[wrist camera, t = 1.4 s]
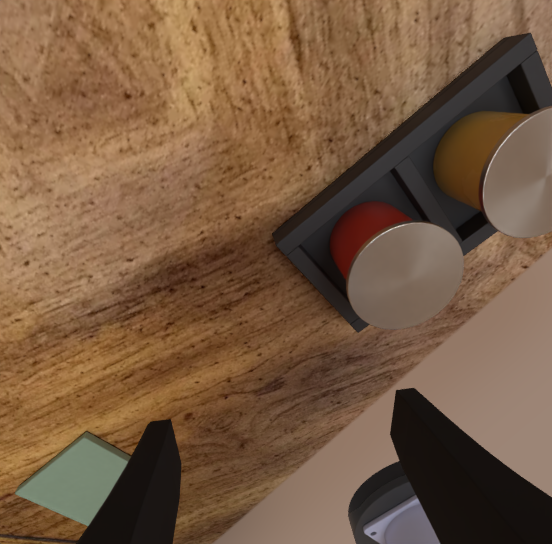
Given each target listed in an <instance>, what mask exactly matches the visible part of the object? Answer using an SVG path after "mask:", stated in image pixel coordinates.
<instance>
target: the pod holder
mask: <svg viewBox="0 0 552 544" xmlns="http://www.w3.org/2000/svg"><path fill="white" fill-rule="evenodd" d="M549 106H552V87H551V84H550V81H549V79H548V76H547V74H546V71H545V69H544V66H543V63H542V61H541V58H540V56H539V53H538V51H537V48H536V45H535V42H534V40H533V37H532V35H531V33H527V34H521V35H516V36H511V37H505V38H503V39H502V40H501V41H500V42H499V43H498V44H496V45H495V46H494V47H493V48H492V49H490V50H489V51H488V52H487V53H486V54H485V55H483V56H482V57H481V58H480V59H479V60H477V61H476V62H475V63H474V64H473V65H471V66H470V67H469V68H468V69H467V70H466V71H464V72H463V73H462V74H461V75H460V76H458V77H457V78H456V79H455V80H454V81H453V82H451V83H450V84H449V85H448V86H447V87H445V88H444V89H443V90H442V91H441V92H439V93H438V94H437V95H436V96H435V97H434V98H432V99H431V100H430V101H429V102H428V103H426V104H425V105H424V106H423V107H422V108H421V109H419V110H418V111H417V112H416V113H415V114H413V115H412V116H411V117H410V118H409V119H407V120H406V121H405V122H404V123H403V124H402V125H400V126H399V127H398V128H397V129H396V130H394V131H393V132H392V133H391V134H390V135H388V136H387V137H386V138H385V139H384V140H383V141H381V142H380V143H379V144H378V145H377V146H375V147H374V148H373V149H372V150H371V151H370V152H368V153H367V154H366V155H365V156H364V157H362V158H361V159H360V160H359V161H358V162H356V163H355V164H354V165H353V166H352V167H351V168H349V169H348V170H347V171H346V172H345V173H343V174H342V175H341V176H340V177H339V178H338V179H336V180H335V181H334V182H333V183H332V184H330V185H329V186H328V187H327V188H326V189H324V190H323V191H322V192H321V193H320V194H319V195H317V196H316V197H315V198H314V199H313V200H311V201H310V202H309V203H308V204H307V205H306V206H304V207H303V208H302V209H301V210H300V211H298V212H297V213H296V214H295V215H294V216H292V217H291V218H290V219H289V220H288V221H287V222H285V223H284V224H283V225H282V226H281V227H279V228H278V229H277V230H276V231H275V232H274V233H272V235H273V238H274V241H275V244H276V246H277V247H278V248H279V249H280V250H281V251H282V253H283V254H284V255H285V256H287V258H288V259H289V260H290V261H291V262H292V263H293V264H294V265H295V266H296V267H297V268H298V269H299V270H300V272H301V273H302V274H303V275H304V276H305V277H306V278H307V279H308V280H309V281H310V282H311V283H312V284H313V285H314V286H315V288H316V289H317V290H318V291H319V292H320V293H321V294H322V295H323V296H324V297H325V298H326V299H327V300H328V301H329V303H330V304H331V305H332V306H333V307H334V308H335V309H336V310H337V311H338V312H339V313H340V314H341V315H342V316H343V317H344V319H345V320H346V321H347V322H348V323H350V325H351V326H352V327H353V328H354V329H355V330H356V331H357V332H360V331H361V330H363V329H364V328H365V327H367V326H368V325H370V324H368V323H367V322H365V321H364V320H362V319H361V318H360V317H359V316H358V315H357V314H356V312H355V311H354V309H353V308H352V306H351V304H350V302H349V299H348V296H347V291H346V279H345V278H344V276H343V275H342V273H341V271H340V270H339V268H338V267H337V265H336V264H335V262H334V260H333V258H332V256H331V252H330V237H331V233H332V231H333V228H334V226H335V224H336V223H337V221H338V220H339V219H340V217H341V216H342V215H343V214H344V213H345V212H347V211H348V210H349V209H351V208H353V207H354V206H356V205H359V204H361V203H365V202H370V201H379V202H384V203H388V204H390V205H392V206H393V207H395V208H396V209H398V210H399V211H401V212H402V213H404V214H405V215H407V216H408V217H409V218H411V219H412V220H420V221H427V222H431V223H434V224H436V225H439V226H441V227H442V228H444V229H445V230H447V231H448V232H450V233H451V234H452V235H453V236H454V237H455V239H456V240H457V241H458V243H459V245H460V247H461V250H462V253H463V256H464V255H466V254H467V253H468V252H470V251H471V250H472V249H474V248H475V247H477V246H478V245H479V244H481V243H482V242H483V241H485V240H486V239H488V238H489V237H490V236H492V235H493V234H494V233H496V232H497V230H496V229H495V228H493V227H492V226H491V225H490V224H489V223H488V222H487V220H486V219H485V217H484V215H483V213H482V212H481V211H479V210H477V209H475V208H473V207H471V206H469V205H467V204H465V203H462V202H460V201H458V200H456V199H454V198H452V197H450V196H448V195H446V194H445V193H444V192H443V191H442V190H441V189H440V188H439V186H438V185H437V183H436V180H435V177H434V172H433V161H434V156H435V152H436V149H437V147H438V144H439V142H440V141H441V139H442V137H443V136H444V134H445V133H446V132H447V131H448V129H449V128H450V127H451V126H452V125H453V124H455V123H456V122H457V121H458V120H460V119H461V118H463V117H465V116H467V115H469V114H471V113H475V112H479V111H495V112H507V113H520V114H531V113H533V112H535V111H537V110H540V109H542V108H546V107H549Z"/></svg>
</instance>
